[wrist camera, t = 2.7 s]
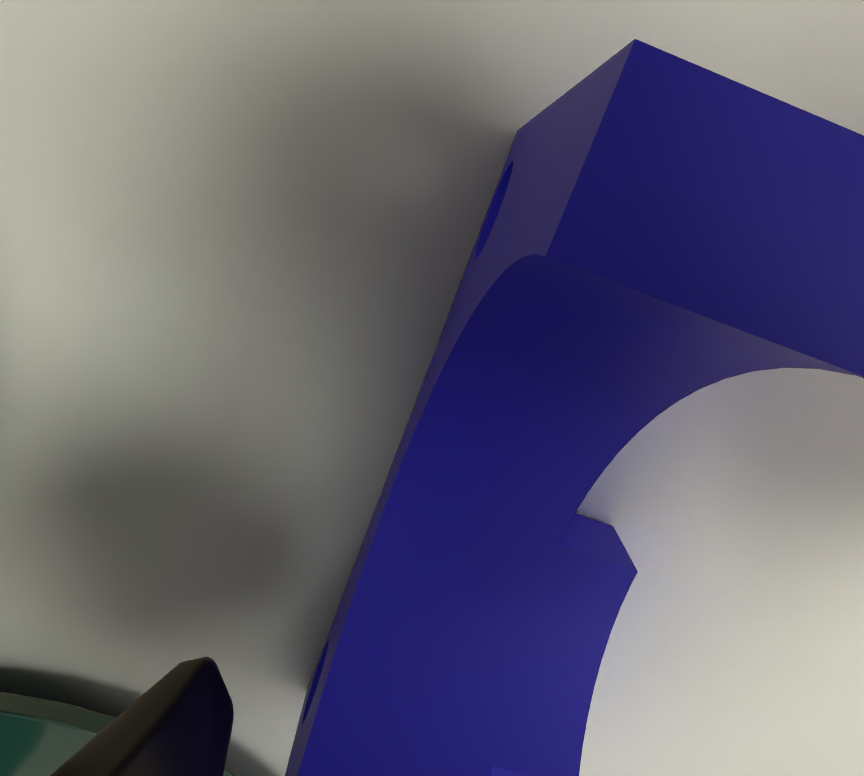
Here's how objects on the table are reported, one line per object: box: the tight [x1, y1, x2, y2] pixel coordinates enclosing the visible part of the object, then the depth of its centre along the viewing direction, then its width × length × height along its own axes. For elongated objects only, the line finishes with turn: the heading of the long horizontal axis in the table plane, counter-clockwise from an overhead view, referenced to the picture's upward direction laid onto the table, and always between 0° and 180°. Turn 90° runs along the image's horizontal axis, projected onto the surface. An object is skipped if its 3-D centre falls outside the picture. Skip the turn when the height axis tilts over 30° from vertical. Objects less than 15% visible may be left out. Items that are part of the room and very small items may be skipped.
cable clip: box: [285, 39, 864, 776], centre depth 9 cm, size 12×4×6 cm, turn 160°
